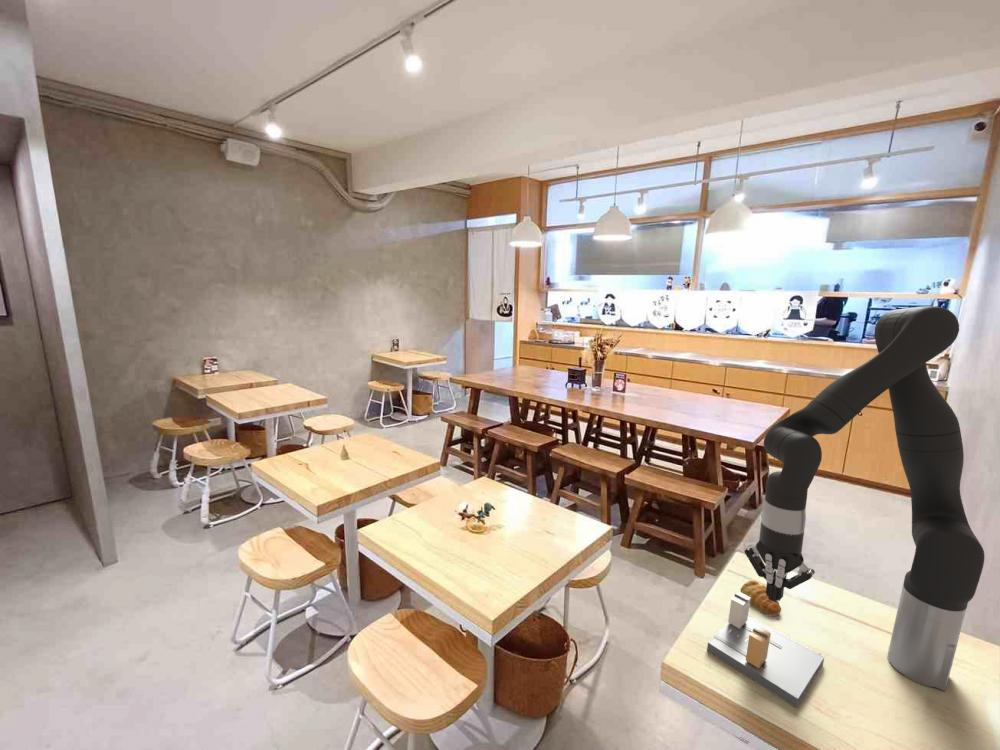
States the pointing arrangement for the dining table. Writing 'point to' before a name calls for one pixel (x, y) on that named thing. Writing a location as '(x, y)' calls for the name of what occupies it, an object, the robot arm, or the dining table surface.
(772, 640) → the console
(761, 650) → the orange fader
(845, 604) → the dining table surface
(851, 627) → the dining table surface
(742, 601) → the cream fader
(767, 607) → the pastry
